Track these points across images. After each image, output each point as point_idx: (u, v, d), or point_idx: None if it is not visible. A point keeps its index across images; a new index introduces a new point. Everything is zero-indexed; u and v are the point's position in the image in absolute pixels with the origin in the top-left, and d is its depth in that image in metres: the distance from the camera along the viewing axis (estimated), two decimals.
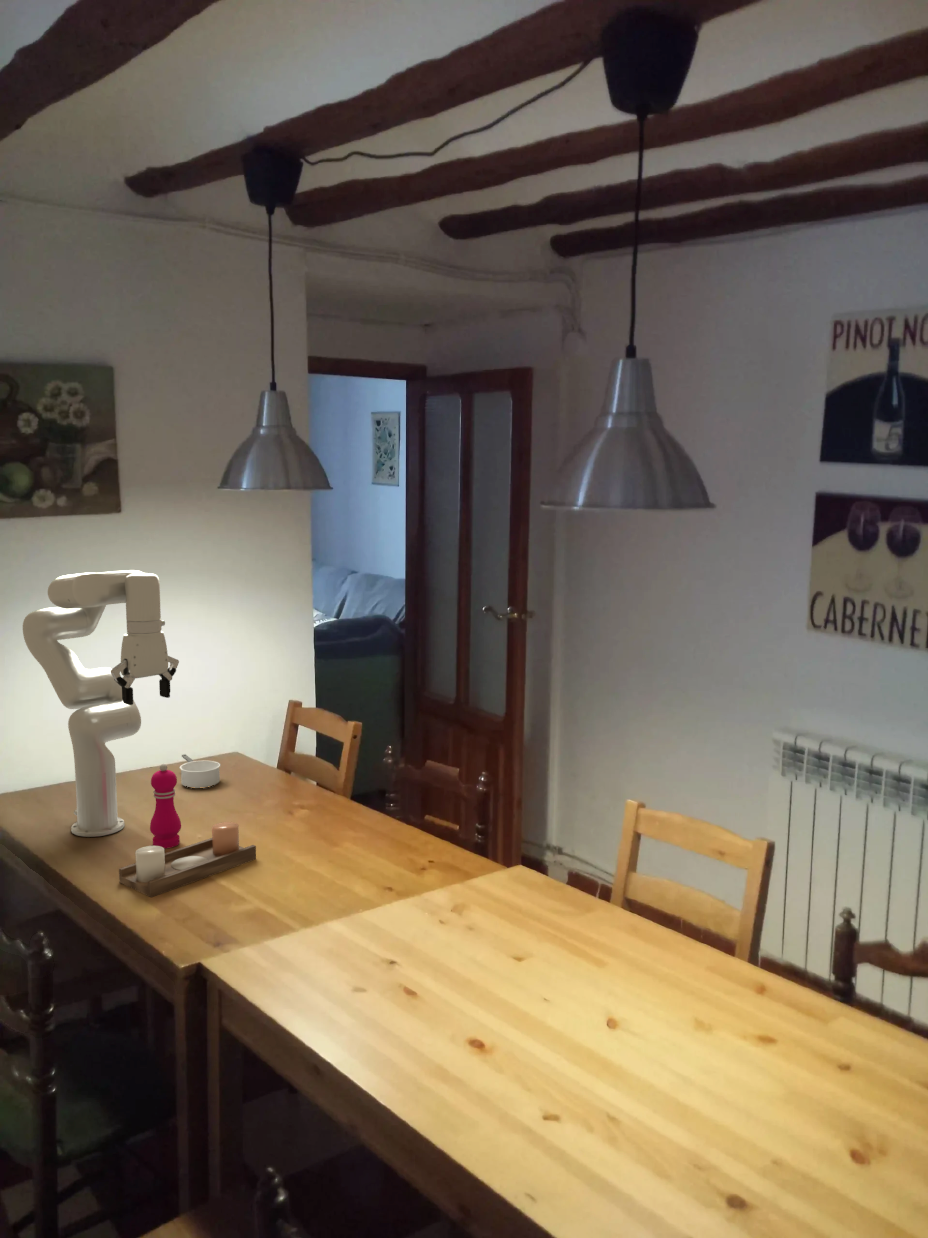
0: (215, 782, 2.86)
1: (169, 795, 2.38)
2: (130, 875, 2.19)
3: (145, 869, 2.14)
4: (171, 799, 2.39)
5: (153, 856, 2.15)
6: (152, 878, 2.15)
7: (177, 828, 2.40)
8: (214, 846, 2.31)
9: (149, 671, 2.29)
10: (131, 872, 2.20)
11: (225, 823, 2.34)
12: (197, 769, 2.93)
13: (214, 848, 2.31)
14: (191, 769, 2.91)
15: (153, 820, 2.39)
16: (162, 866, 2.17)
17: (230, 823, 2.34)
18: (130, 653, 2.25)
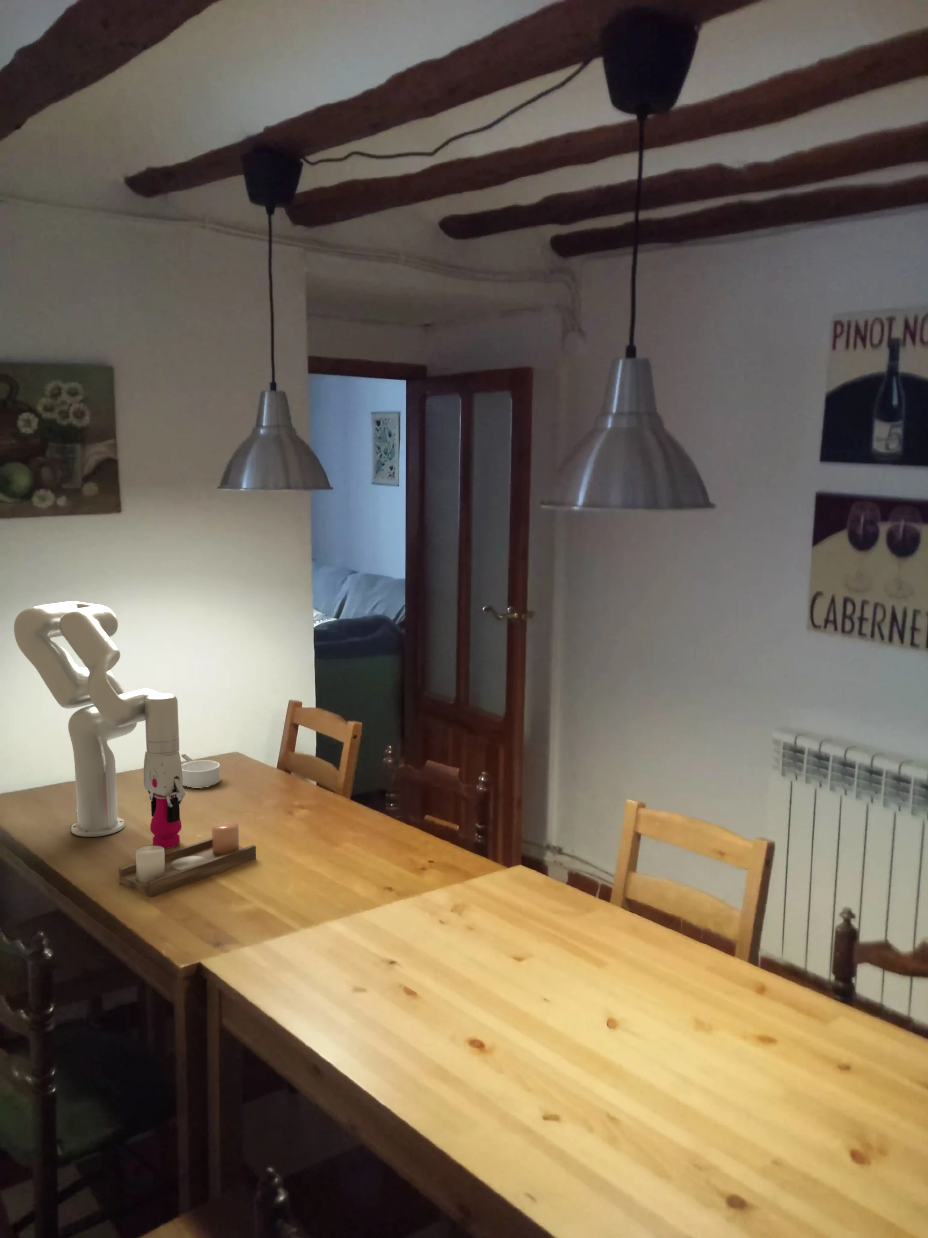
0: (215, 782, 2.86)
1: None
2: (130, 875, 2.19)
3: (145, 869, 2.14)
4: (172, 799, 2.39)
5: (153, 856, 2.15)
6: (152, 878, 2.15)
7: (177, 828, 2.40)
8: (214, 846, 2.31)
9: None
10: (131, 872, 2.20)
11: (225, 823, 2.34)
12: (197, 769, 2.93)
13: (214, 848, 2.31)
14: (191, 769, 2.92)
15: (153, 820, 2.39)
16: (162, 866, 2.17)
17: (230, 823, 2.34)
18: (180, 769, 2.37)
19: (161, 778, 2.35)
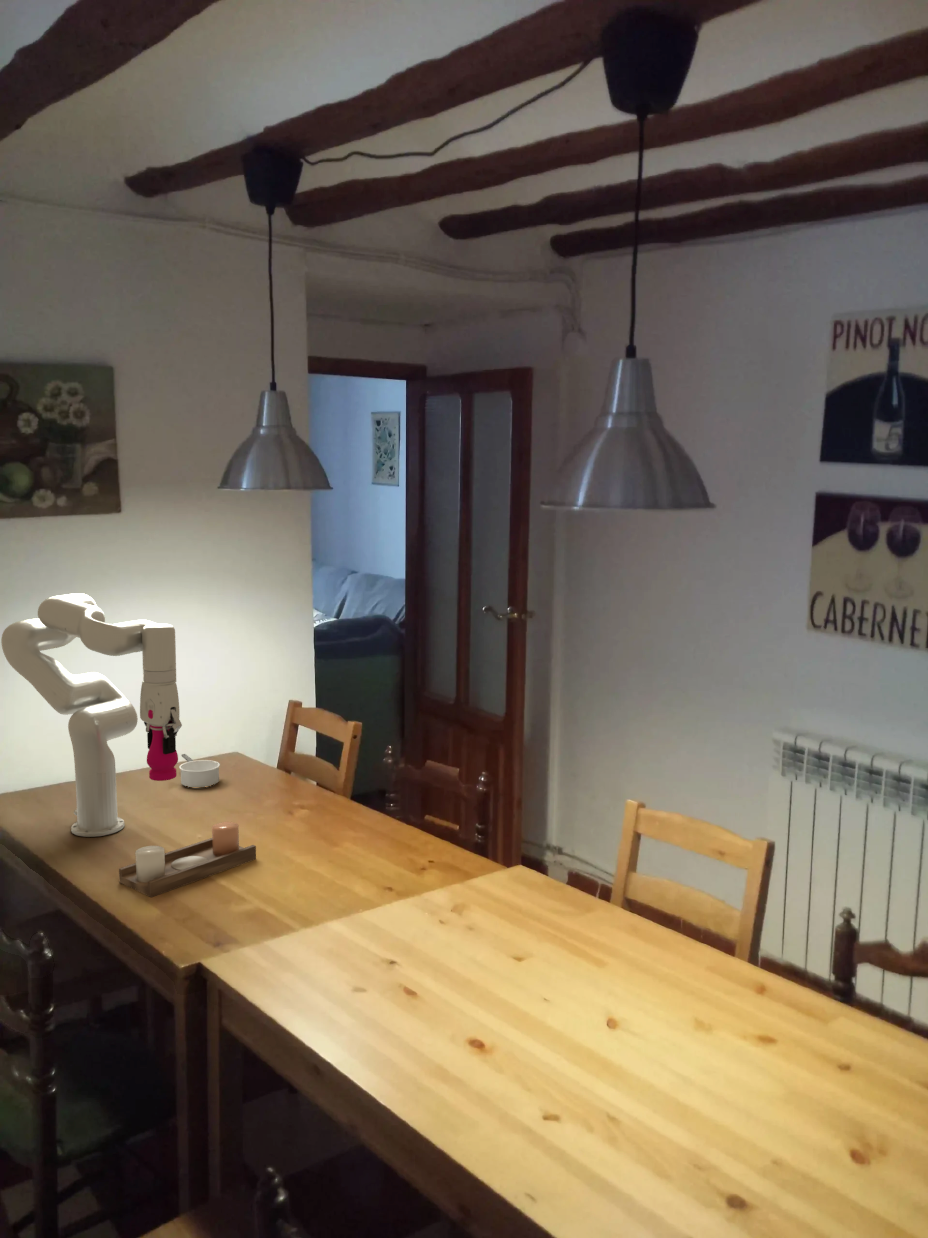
0: (214, 782, 2.86)
1: None
2: (130, 875, 2.19)
3: (145, 869, 2.14)
4: None
5: (153, 856, 2.15)
6: (152, 878, 2.15)
7: (174, 760, 2.37)
8: (214, 846, 2.31)
9: None
10: (131, 872, 2.20)
11: (225, 823, 2.34)
12: (197, 769, 2.93)
13: (214, 848, 2.31)
14: (191, 769, 2.92)
15: (150, 752, 2.36)
16: (162, 866, 2.17)
17: (230, 823, 2.34)
18: (177, 700, 2.35)
19: (157, 708, 2.33)
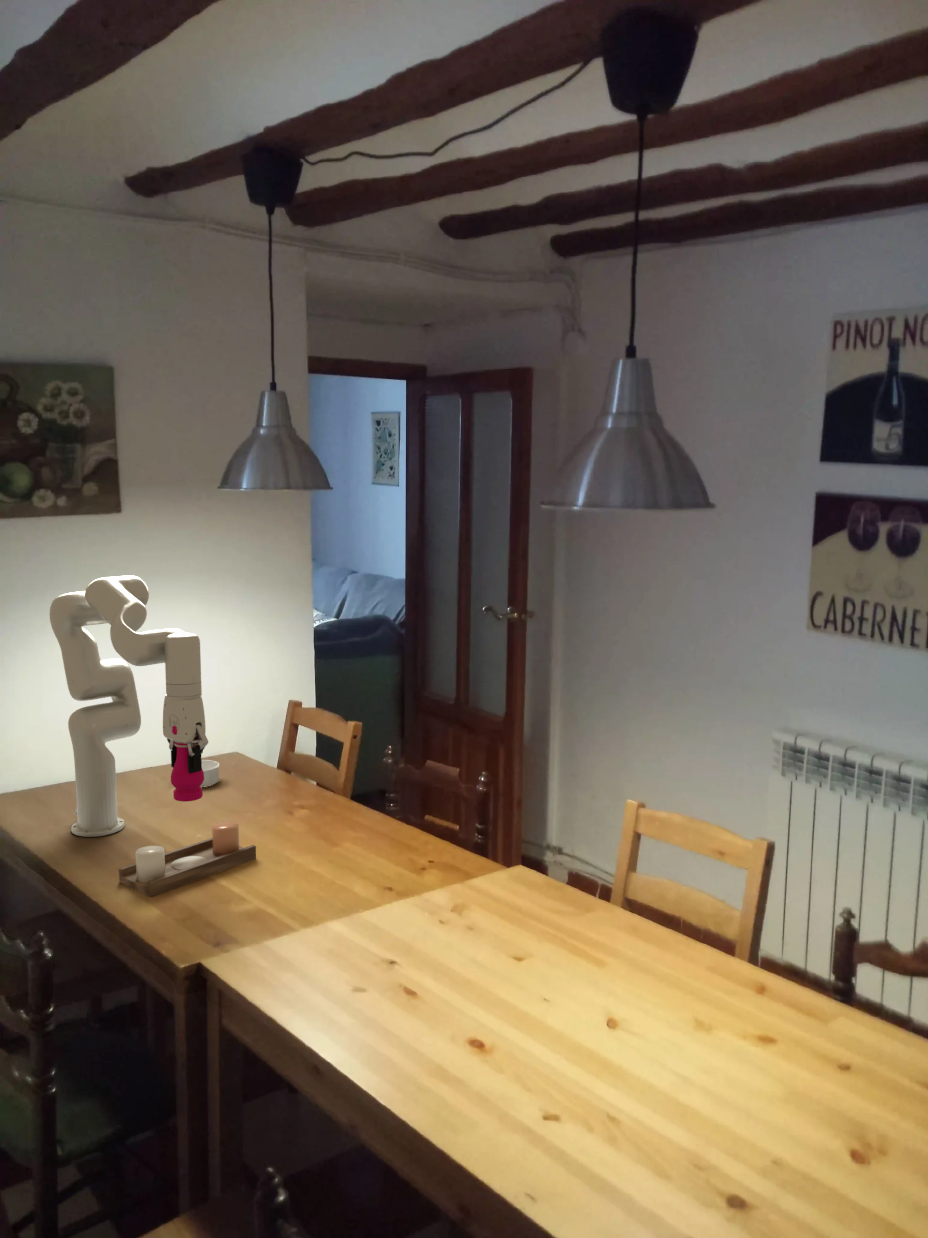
0: (214, 781, 2.86)
1: None
2: (130, 875, 2.19)
3: (145, 869, 2.14)
4: None
5: (153, 856, 2.15)
6: (152, 878, 2.15)
7: (200, 779, 2.21)
8: (214, 846, 2.31)
9: None
10: (131, 872, 2.20)
11: (225, 823, 2.34)
12: None
13: (214, 848, 2.31)
14: None
15: (174, 771, 2.20)
16: (162, 866, 2.17)
17: (230, 823, 2.34)
18: (203, 714, 2.19)
19: (182, 724, 2.17)
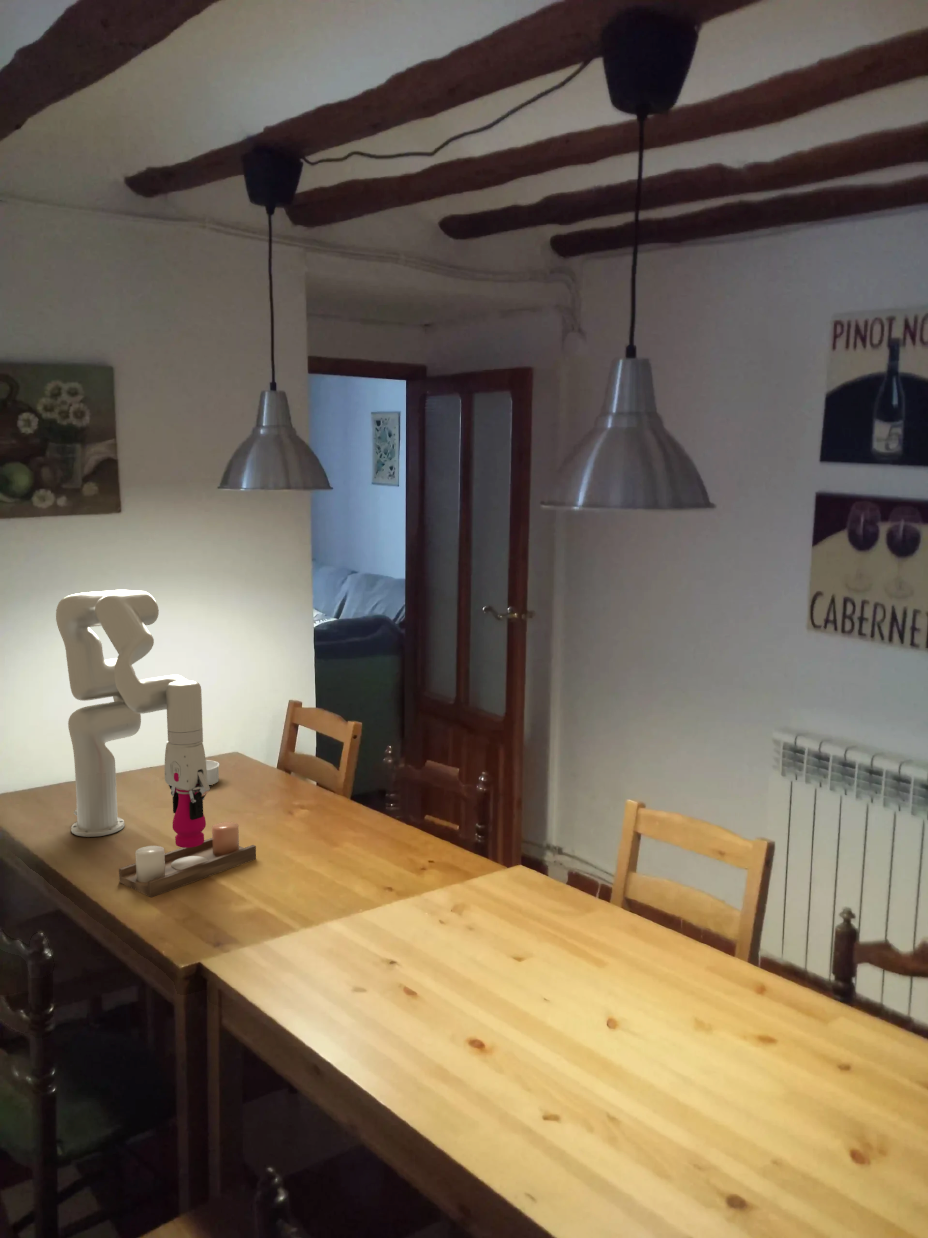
0: (214, 781, 2.86)
1: None
2: (130, 875, 2.19)
3: (145, 869, 2.14)
4: (195, 794, 2.22)
5: (153, 856, 2.15)
6: (152, 878, 2.15)
7: (202, 825, 2.23)
8: (214, 846, 2.31)
9: None
10: (131, 872, 2.20)
11: (225, 823, 2.34)
12: None
13: (214, 848, 2.31)
14: None
15: (176, 817, 2.22)
16: (162, 866, 2.17)
17: (230, 823, 2.34)
18: (204, 761, 2.20)
19: (184, 771, 2.18)
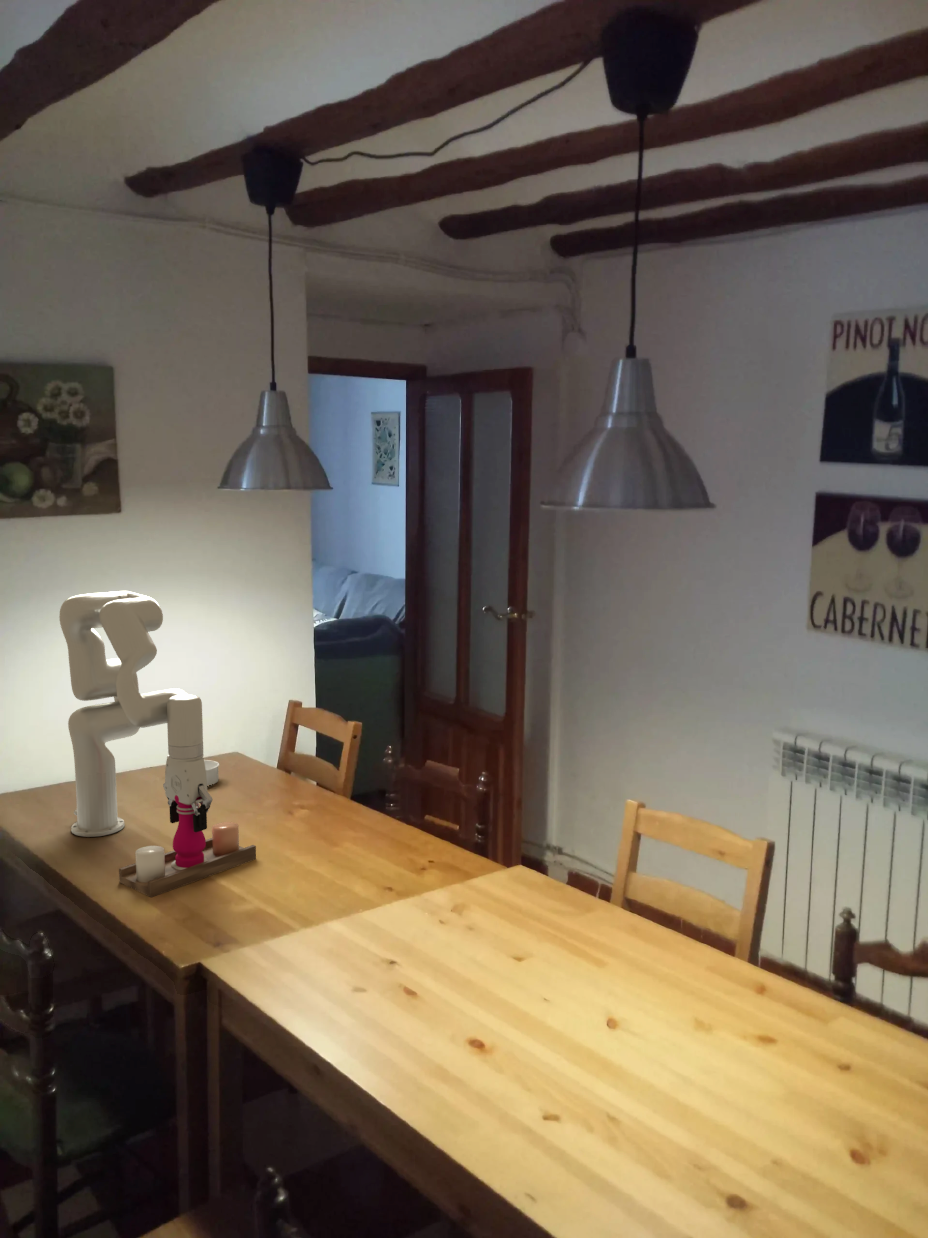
0: (214, 781, 2.87)
1: (193, 811, 2.22)
2: (130, 875, 2.19)
3: (145, 869, 2.14)
4: None
5: (153, 856, 2.15)
6: (152, 878, 2.15)
7: (202, 846, 2.23)
8: (214, 846, 2.31)
9: None
10: (131, 872, 2.20)
11: (225, 823, 2.34)
12: None
13: (214, 848, 2.31)
14: None
15: (176, 837, 2.23)
16: (162, 866, 2.17)
17: (230, 823, 2.34)
18: (205, 776, 2.21)
19: (184, 786, 2.19)
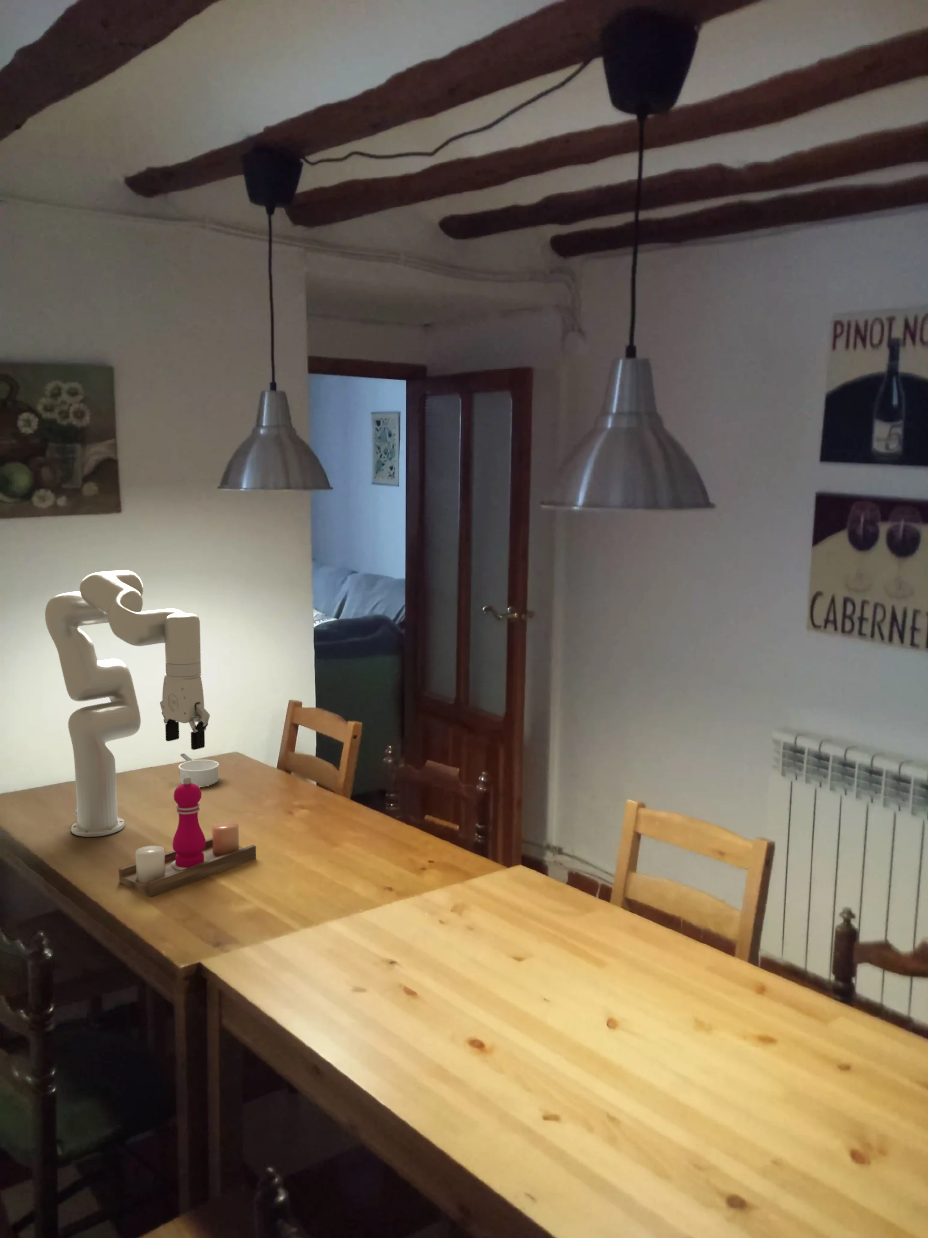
0: (214, 781, 2.87)
1: (193, 810, 2.22)
2: (130, 875, 2.19)
3: (145, 869, 2.14)
4: (195, 814, 2.23)
5: (153, 856, 2.15)
6: (152, 878, 2.15)
7: (202, 845, 2.24)
8: (214, 846, 2.31)
9: None
10: (131, 872, 2.20)
11: (225, 823, 2.34)
12: (196, 768, 2.93)
13: (214, 848, 2.31)
14: (190, 768, 2.92)
15: (176, 837, 2.23)
16: (162, 866, 2.17)
17: (230, 823, 2.34)
18: (202, 694, 2.20)
19: (181, 703, 2.18)
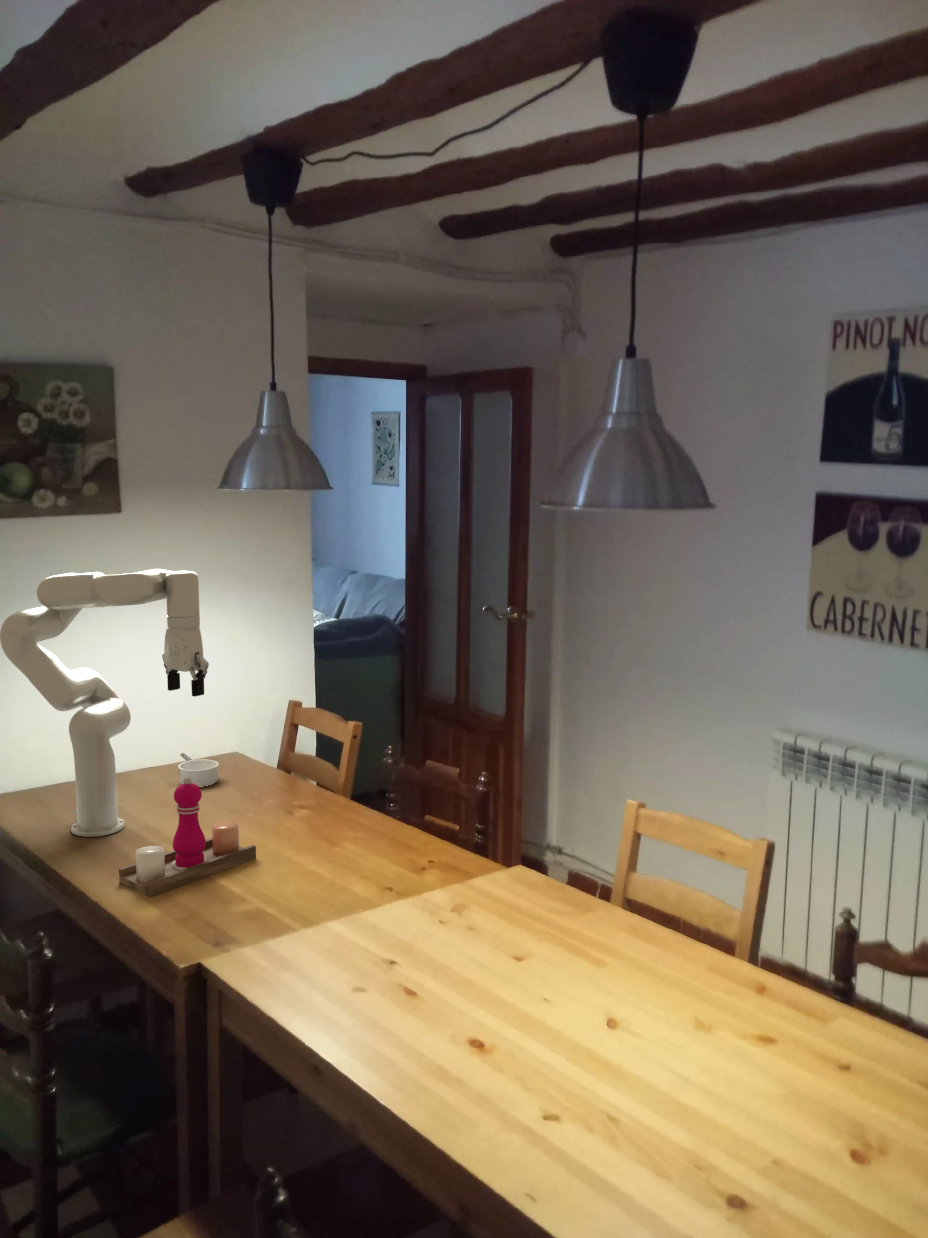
0: (213, 781, 2.87)
1: (193, 810, 2.22)
2: (130, 875, 2.19)
3: (145, 869, 2.14)
4: (195, 814, 2.23)
5: (153, 856, 2.15)
6: (152, 878, 2.15)
7: (202, 845, 2.24)
8: (214, 846, 2.31)
9: None
10: (131, 872, 2.20)
11: (225, 823, 2.34)
12: (196, 768, 2.94)
13: (214, 848, 2.31)
14: (190, 768, 2.92)
15: (176, 837, 2.23)
16: (162, 866, 2.17)
17: (230, 823, 2.34)
18: (201, 645, 2.38)
19: (182, 653, 2.36)
